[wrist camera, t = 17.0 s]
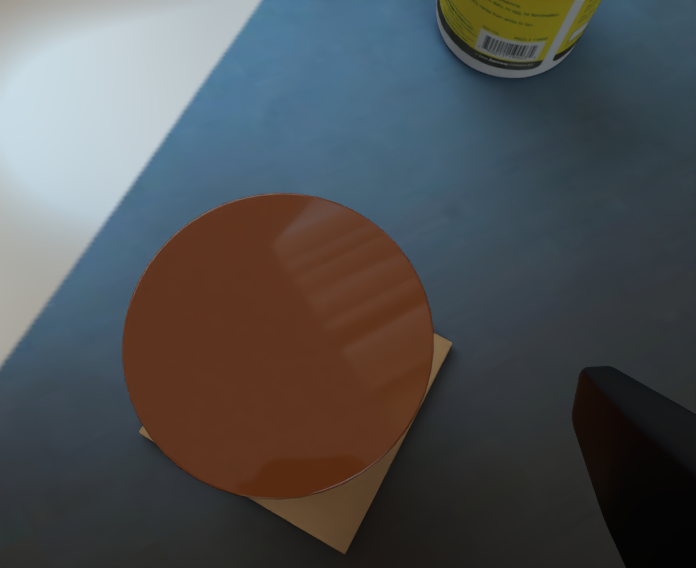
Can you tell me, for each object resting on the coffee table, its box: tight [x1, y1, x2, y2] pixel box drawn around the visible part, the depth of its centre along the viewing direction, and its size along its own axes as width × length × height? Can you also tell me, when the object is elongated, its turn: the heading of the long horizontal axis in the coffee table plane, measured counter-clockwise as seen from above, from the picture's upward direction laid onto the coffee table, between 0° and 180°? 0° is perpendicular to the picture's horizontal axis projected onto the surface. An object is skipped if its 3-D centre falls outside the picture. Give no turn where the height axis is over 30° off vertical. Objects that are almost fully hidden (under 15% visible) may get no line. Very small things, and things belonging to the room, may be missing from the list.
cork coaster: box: [139, 333, 452, 554], centre depth 22 cm, size 8×8×1 cm
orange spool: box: [122, 193, 434, 500], centre depth 18 cm, size 7×7×9 cm
